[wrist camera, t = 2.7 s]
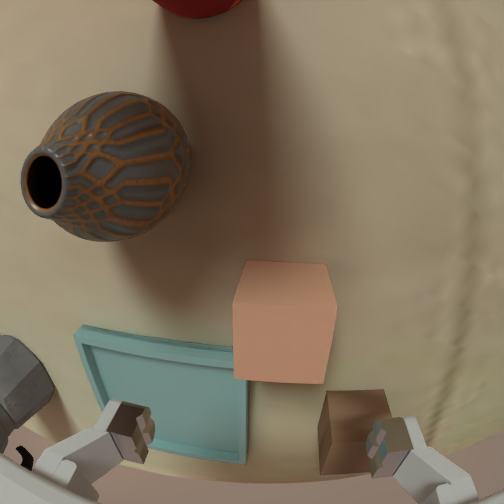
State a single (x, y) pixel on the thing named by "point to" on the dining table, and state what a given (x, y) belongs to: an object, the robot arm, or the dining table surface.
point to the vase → (108, 167)
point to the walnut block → (348, 429)
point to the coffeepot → (20, 390)
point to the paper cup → (197, 7)
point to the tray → (172, 390)
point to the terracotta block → (283, 322)
